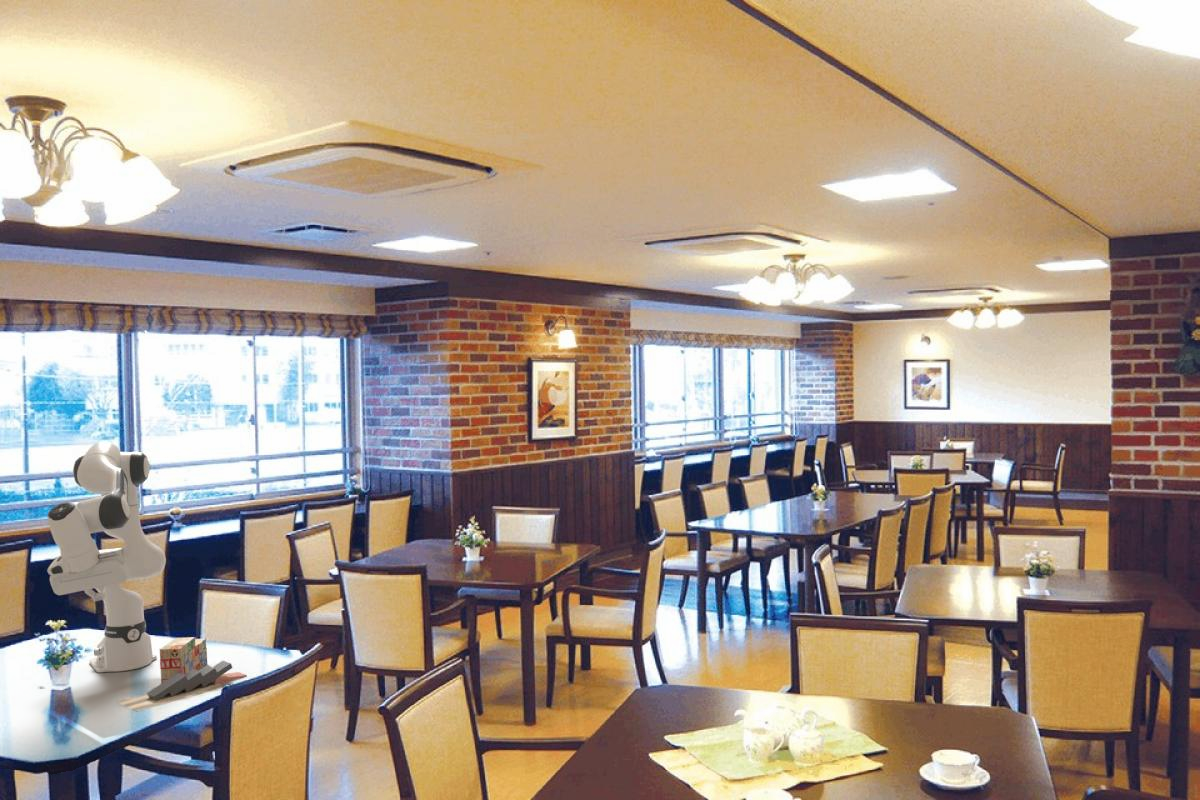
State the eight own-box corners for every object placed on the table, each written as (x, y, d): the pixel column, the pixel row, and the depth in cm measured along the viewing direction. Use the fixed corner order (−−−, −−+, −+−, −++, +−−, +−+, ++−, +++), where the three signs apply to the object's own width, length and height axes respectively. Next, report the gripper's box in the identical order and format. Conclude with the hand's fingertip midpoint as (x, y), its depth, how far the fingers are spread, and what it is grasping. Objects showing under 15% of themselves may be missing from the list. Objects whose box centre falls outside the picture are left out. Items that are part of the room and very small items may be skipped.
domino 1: (154, 696, 276) (185, 675, 283) (146, 693, 279) (177, 672, 286) (156, 701, 277) (187, 680, 283) (148, 697, 280) (180, 677, 287)
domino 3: (184, 688, 283) (214, 668, 290) (177, 684, 286) (207, 665, 293) (187, 692, 283) (216, 672, 290) (179, 689, 287) (209, 669, 293)
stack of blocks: (188, 667, 313) (186, 629, 313) (207, 666, 314) (206, 629, 313) (161, 688, 292) (159, 648, 292) (182, 687, 292) (180, 647, 292)
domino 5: (215, 679, 290) (246, 675, 297) (207, 675, 293) (238, 672, 301) (215, 684, 290) (246, 680, 297) (207, 681, 293) (238, 677, 301)
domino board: (117, 706, 277) (117, 701, 277) (204, 682, 297) (204, 678, 296) (136, 715, 268) (136, 711, 268) (225, 690, 288) (225, 686, 288)
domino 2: (169, 692, 279) (200, 671, 286) (162, 688, 283) (192, 668, 290) (172, 696, 280) (202, 676, 287) (164, 693, 283) (194, 673, 290)
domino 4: (201, 683, 286) (230, 663, 293) (193, 679, 290) (222, 660, 297) (203, 687, 287) (232, 667, 294) (195, 684, 290) (224, 664, 297)
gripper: (123, 544, 270) (140, 585, 276) (50, 559, 269) (68, 600, 274) (116, 556, 264) (133, 598, 270) (40, 571, 263) (59, 613, 269)
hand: (100, 599), depth 272 cm, fingers closed
